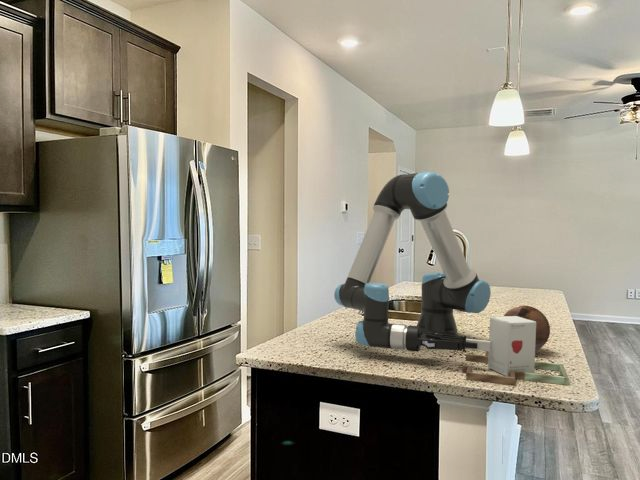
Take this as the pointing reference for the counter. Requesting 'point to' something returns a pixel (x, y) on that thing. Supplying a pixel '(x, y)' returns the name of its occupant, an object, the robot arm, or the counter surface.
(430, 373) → the counter surface
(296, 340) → the counter surface
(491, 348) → the supplement box
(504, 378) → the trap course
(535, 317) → the wooden sphere
